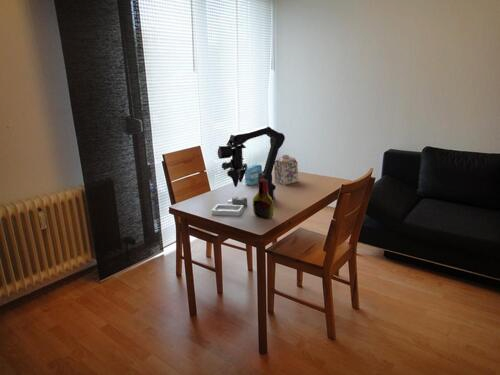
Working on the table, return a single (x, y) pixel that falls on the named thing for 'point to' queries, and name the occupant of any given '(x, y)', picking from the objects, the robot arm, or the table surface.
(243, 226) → the table surface
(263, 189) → the bottle
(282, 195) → the table surface
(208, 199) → the table surface
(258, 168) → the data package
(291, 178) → the decorative jar
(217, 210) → the dock tray
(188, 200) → the table surface
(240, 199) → the plug
